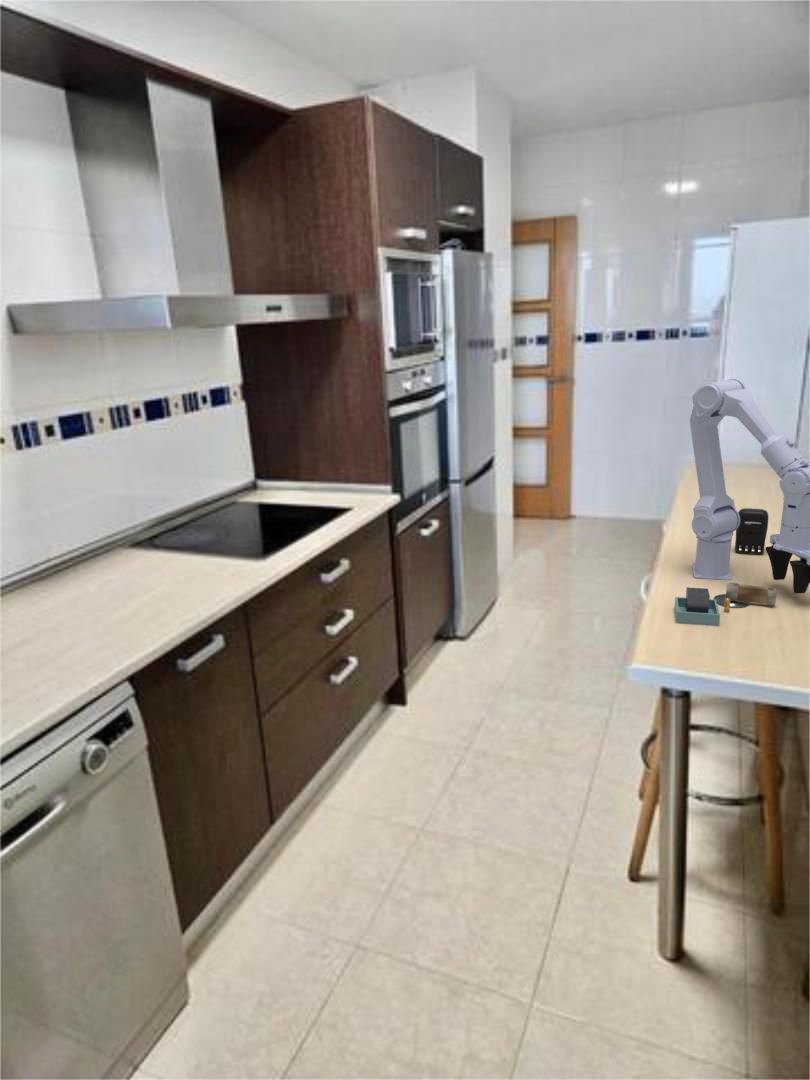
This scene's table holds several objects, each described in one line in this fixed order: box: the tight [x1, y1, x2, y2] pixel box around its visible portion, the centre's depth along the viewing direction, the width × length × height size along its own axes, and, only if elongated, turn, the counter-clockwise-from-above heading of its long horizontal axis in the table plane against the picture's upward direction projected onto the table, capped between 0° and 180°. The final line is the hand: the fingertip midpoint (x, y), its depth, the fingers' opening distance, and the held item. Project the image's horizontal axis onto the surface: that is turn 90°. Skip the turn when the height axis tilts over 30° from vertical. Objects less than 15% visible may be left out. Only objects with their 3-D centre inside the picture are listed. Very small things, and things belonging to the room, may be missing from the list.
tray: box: [674, 596, 721, 627], centre depth 140 cm, size 8×8×2 cm
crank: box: [725, 582, 778, 606], centre depth 144 cm, size 9×2×3 cm, turn 62°
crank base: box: [713, 593, 751, 614], centre depth 145 cm, size 10×7×3 cm
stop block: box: [685, 587, 711, 613], centre depth 140 cm, size 4×4×5 cm
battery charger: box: [734, 507, 769, 556], centre depth 172 cm, size 7×4×11 cm, turn 67°
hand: (788, 585), depth 147 cm, fingers open, 7 cm apart
